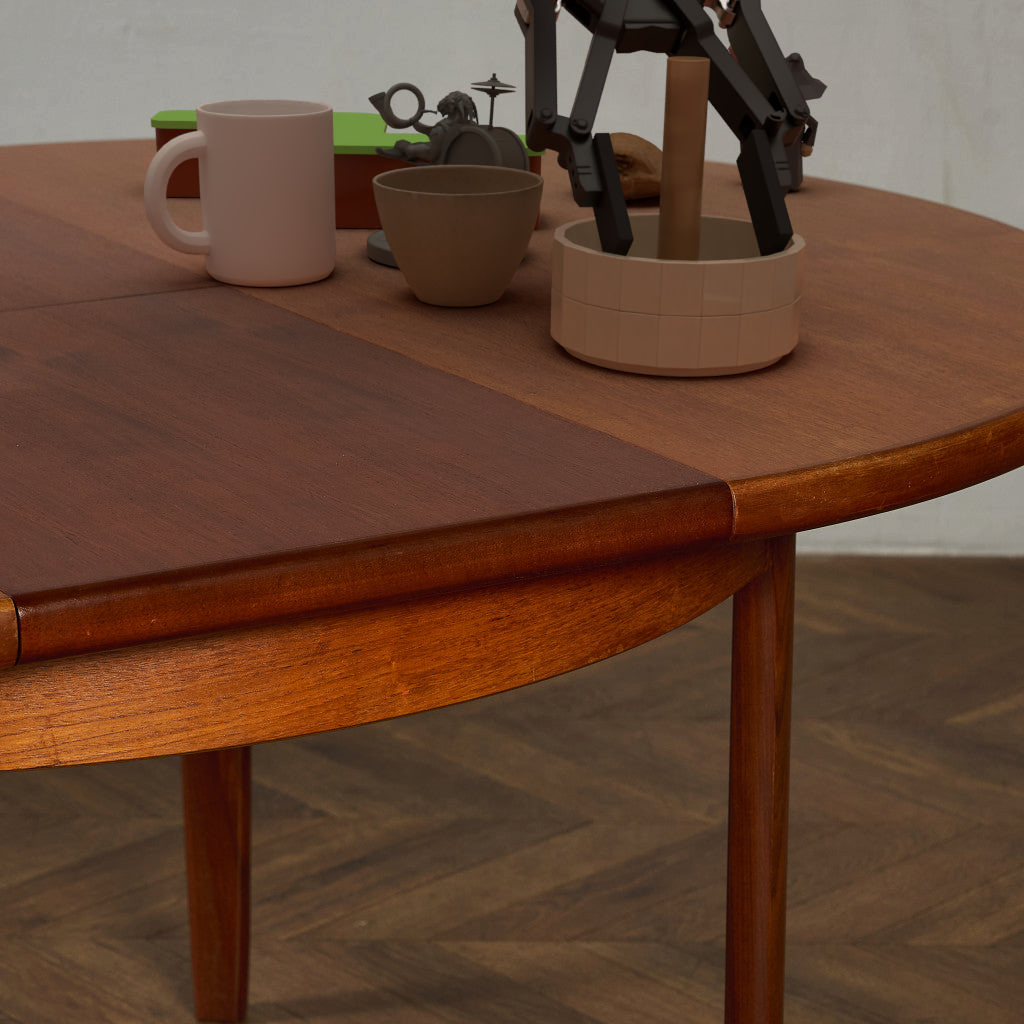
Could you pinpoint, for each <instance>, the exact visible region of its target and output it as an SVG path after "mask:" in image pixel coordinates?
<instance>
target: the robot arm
mask: <svg viewBox="0 0 1024 1024" xmlns="http://www.w3.org/2000/svg"><path fill="white" fill-rule="evenodd" d="M705 7H706V8H709V9H710V10H712V11H713V12H714V13H715V15H716V17H717V19H718V22H717V25H718V28H720V29H722V30H726V35H727V39H728V42H729V46H730V45H731V48H732V50H733V52H734V54H735V56H736V58H737V61H738V62H737V61H736V60H735V59H734V57H733V56H732V55H731V53H730V52H729V50H728V48H727V47H726V46H725V44H724V43H723V42H722V41H721V39H720V38H719V37H718V35H717V34H716V31H715V25H714V22H713V19H712V18H711V16H709V14H708V13H707V11H706V10H705V9H704V8H705ZM562 8H563V9H564V10H565V11H566V12H567V13H568V14H569V15H571V16H572V17H573V18H574V19H575V20H576V21H578V23H579V24H581V26H583V27H584V28H585V29H586V30H587V31H588V32H589V33H591V34H592V37H591V40H590V44H589V47H588V50H587V53H586V58H585V60H584V66H583V69H582V72H581V77H580V80H579V83H578V87H577V91H576V93H575V97H574V100H573V104H572V107H571V111H570V114H569V117H568V116H565V115H561V114H559V113H558V64H557V63H558V57H557V55H558V53H557V21H558V19H559V16H560V13H561V10H562ZM513 14H514V17H515V19H516V22H517V24H518V26H519V28H520V31H521V34H522V35H523V38H524V118H525V119H524V121H525V122H524V125H525V126H524V127H525V130H524V133H525V134H524V135H525V142H526V146H527V147H528V148H529V149H530V150H532V151H534V152H542V151H544V150H545V149H546V150H549V151H553V152H556V153H558V154H557V156H556V162H557V165H558V166H559V167H560V168H561V169H563V170H565V171H567V173H568V179H569V182H570V188H571V191H572V192H571V193H572V197H573V201H574V202H575V203H576V205H577V206H578V207H579V208H592V212H593V215H594V216H593V217H595V220H596V225H597V229H598V234H599V238H600V243H601V247H602V252H605V253H611V254H617V255H622V256H627V254H628V252H629V249H630V247H631V245H632V243H633V241H634V238H633V233H632V229H631V225H630V220H629V216H628V214H629V212H628V208H627V203H626V200H625V199H624V194H623V190H622V186H621V181H620V177H619V173H618V168H617V164H616V160H615V155H614V151H613V147H612V142H611V138H610V134H611V133H610V132H595V133H594V135H593V134H592V131H593V129H594V124H595V121H596V117H597V114H598V110H599V106H600V104H601V100H602V96H603V92H604V88H605V85H606V82H607V77H608V74H609V71H610V67H611V64H612V60H613V56H614V53H616V54H617V55H618V54H619V55H620V54H633V53H637V52H641V51H643V52H649V53H653V54H665V55H666V56H667V58H669V57H675V56H692V57H704V58H709V59H710V74H709V91H708V103H710V105H711V106H712V107H713V109H714V110H715V111H716V112H717V114H718V115H719V117H721V119H722V121H724V123H725V125H726V126H727V127H728V128H729V130H730V131H731V132H732V133H733V135H734V136H735V137H736V138H737V140H738V141H739V143H740V142H741V144H742V145H743V148H742V150H741V152H739V154H738V156H737V158H736V159H735V163H736V166H737V171H738V174H739V178H740V182H741V186H742V189H743V194H744V196H745V200H746V204H747V209H748V212H749V216H750V220H752V224H753V228H754V232H755V235H756V239H757V243H758V247H759V251H760V255H761V257H762V256H769V255H772V254H775V253H779V252H782V251H784V249H785V247H786V246H787V244H788V243H789V241H790V239H791V238H792V236H793V234H794V233H795V232H794V230H793V226H792V222H791V218H790V215H789V212H788V208H787V207H788V206H787V204H786V201H785V198H786V196H787V195H788V193H789V191H790V188H791V186H792V180H793V177H792V173H791V170H790V166H789V163H788V159H787V155H786V152H785V148H784V147H790V146H792V145H793V144H794V143H795V141H796V139H797V137H798V136H799V134H800V132H801V130H802V129H803V127H804V125H805V126H806V124H805V123H806V121H807V120H808V118H809V116H810V115H811V110H810V106H809V105H808V103H807V100H806V101H805V99H804V96H803V94H802V92H801V90H800V88H799V86H798V84H797V82H796V80H795V78H794V76H793V74H792V72H791V69H790V67H789V65H788V63H787V61H786V59H785V58H786V57H785V55H784V53H783V51H782V48H781V47H780V44H779V42H778V40H777V39H776V37H775V35H774V32H773V30H772V28H771V26H770V24H769V22H768V20H767V18H766V16H765V14H764V12H763V9H762V0H516V3H515V6H514V9H513ZM738 63H739V64H738ZM793 232H794V233H793Z"/></svg>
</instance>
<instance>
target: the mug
mask: <svg viewBox="0 0 1024 1024" xmlns="http://www.w3.org/2000/svg"><path fill="white" fill-rule="evenodd" d="M195 110H196V119H197V131H195V132H190V133H186V134H183V135H180V136H178V137H176V138H174V139H172V140H170V141H169V142H168V143H166V144H165V145H164V146H163V147H162V148H161V149H160V150H159V151H158V152H157V151H156V153H155V155H154V157H153V158H152V159H151V161H150V164H149V166H148V168H147V171H146V174H145V177H144V185H143V203H144V210H145V213H146V218H147V219H148V220H147V221H148V222H149V225H150V227H151V229H152V230H153V232H154V233H155V235H156V236H157V238H158V239H159V240H160V241H161V242H162V243H163V244H164V245H166V246H167V247H169V248H170V249H172V250H173V251H175V252H178V253H180V254H185V255H191V256H203V259H204V260H203V261H204V265H205V266H204V267H205V270H206V272H207V273H208V274H209V275H210V276H211V278H214V280H216V281H218V282H222V283H225V284H230V285H235V286H244V287H254V288H255V287H257V288H259V287H260V288H275V287H292V286H300V285H305V284H306V285H307V284H311V283H314V282H318V281H322V280H324V279H326V278H327V277H329V276H330V275H331V273H332V272H333V271H334V269H335V266H336V261H337V259H336V258H337V232H336V231H337V230H336V229H337V228H336V225H335V182H334V138H333V112H334V109H333V106H331V105H330V104H327V103H323V102H318V101H313V100H312V101H311V100H303V99H285V98H247V99H246V98H245V99H243V98H242V99H228V100H218V101H212V102H207V103H202V104H200V105H197V106H196V107H195ZM191 158H199V179H200V197H199V198H200V214H201V231H188V230H184V229H182V228H180V227H178V225H176V223H175V221H173V219H172V217H171V215H170V213H169V208H168V204H167V197H166V190H167V184H168V181H169V178H170V176H171V174H172V172H173V170H174V169H175V168H176V167H177V166H178V165H179V164H180V163H182V162H183V161H185V160H188V159H191Z"/></svg>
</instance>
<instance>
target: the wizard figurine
mask: <svg viewBox="0 0 1024 1024" xmlns="http://www.w3.org/2000/svg"><path fill="white" fill-rule="evenodd" d="M727 50H728V51H729V52H730V53H731V55H732V56H733V57H734V59H735V60H736V61H737V58H736V56H735V54H734V52H733V50H732V48H731V45H730V44H729V46H728V48H727ZM785 59H786V61H787V63H788V65H789V67H790V69H791V72H792V74H793V76H794V78H795V80H796V82H797V84H798V86H799V88H800V90H801V92H802V94H803V96H804V99H805V101H806V102H807V101H813V100H818V99H821V98H822V96H823V95H824V93H825V91H826V89H828V85H826V84H825V83H824V82H823V81H821V80H820V79H818V78H816V77H813V76H812V75H811V73H809V70H807V69H806V67H805V63H804V59H803V57H802V55H801V54H800V53H799V52H792V53H790V54H789V55H788V56H786V57H785ZM737 62H738V61H737ZM738 64H739V63H738ZM806 126H807V128H806ZM818 126H819V121H818V120H817V119H816V118H815V117H813V116H812V115H811V114H810V116H809V118H808V120H807V121H806V123H805V125H804V127H803V129H802V130H801V132H800V134H799V136H798V137H797V139H796V141H795V143H794V144H793V145H792V146H790V147H784V148H785V152H786V155H787V159H788V163H789V166H790V170H791V173H792V177H793V180H792V186H791V188H790V190H789V191H790V192H795V191H798V190H799V188H800V187H801V185H802V184H803V182H804V164H803V158H808V157H811V156H812V154H813V151H814V147H815V143H816V137H817V132H818ZM742 148H743V145H742V144H741V142H740V141H739V151H740V152H741V150H742ZM740 152H739V153H740Z"/></svg>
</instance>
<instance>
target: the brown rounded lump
mask: <svg viewBox="0 0 1024 1024" xmlns="http://www.w3.org/2000/svg"><path fill="white" fill-rule="evenodd" d="M609 134H610V138H611V142H612V147H613V151H614V155H615V160H616V164H617V168H618V173H619V177H620V181H621V186H622V190H623V194H624V199H625V201H632V200H639V199H645V198H652V197H658V196H659V197H660V191H661V170H662V150H661V149H660V148H659V147H658V146H657V145H655V144H654V143H652V142H651V141H649V140H647V139H645V138H643V137H641V136H639V135H636V134H633V133H630V132H624V131H622V132H621V131H619V132H610V133H609Z"/></svg>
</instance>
